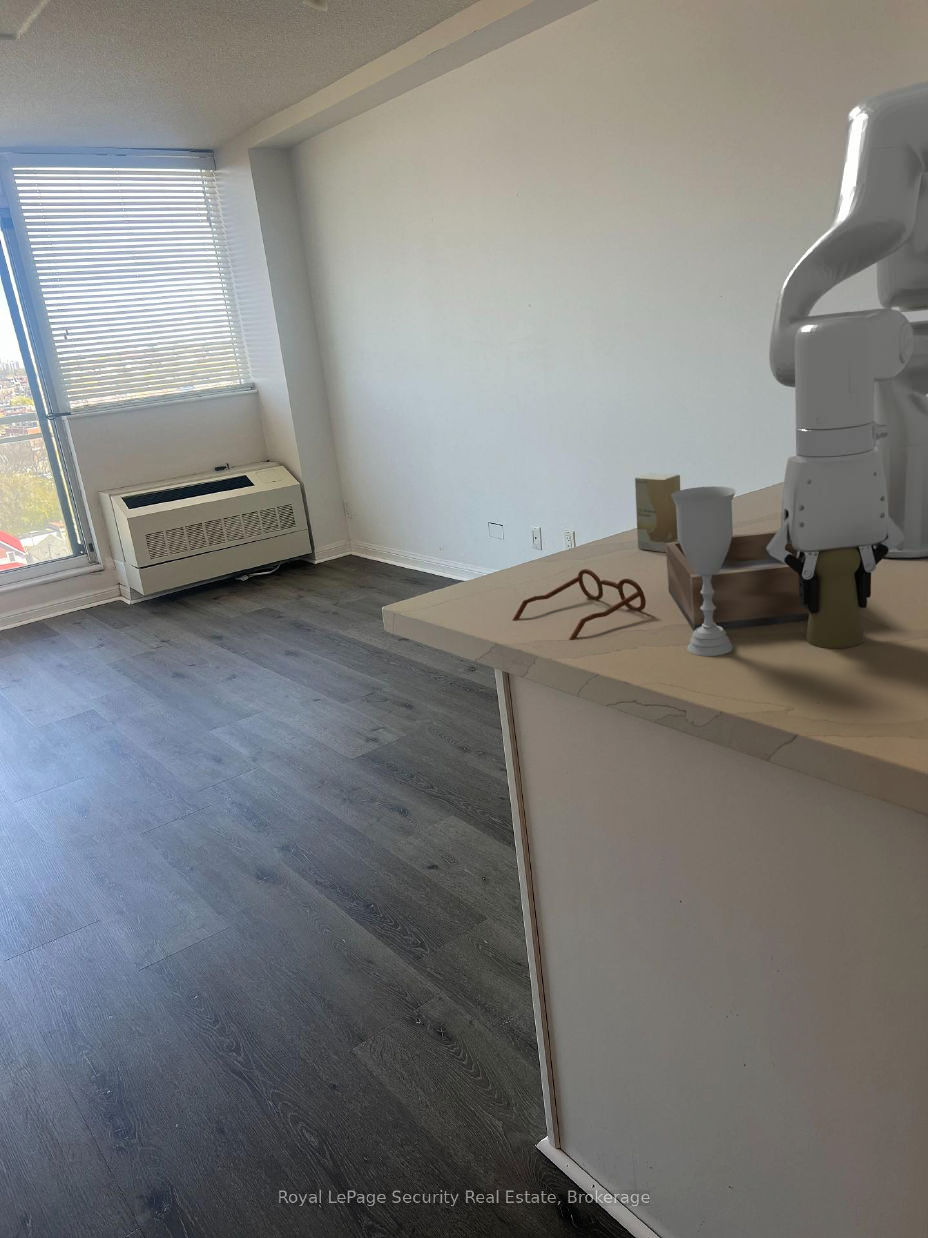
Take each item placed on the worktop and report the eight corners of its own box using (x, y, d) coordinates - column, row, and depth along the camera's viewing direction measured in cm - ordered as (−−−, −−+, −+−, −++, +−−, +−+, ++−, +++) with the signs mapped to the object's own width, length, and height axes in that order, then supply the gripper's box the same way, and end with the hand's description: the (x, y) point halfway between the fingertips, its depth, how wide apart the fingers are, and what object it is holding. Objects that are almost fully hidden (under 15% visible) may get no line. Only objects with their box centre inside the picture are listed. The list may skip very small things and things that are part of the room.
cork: (869, 646, 95) (870, 548, 92) (810, 649, 96) (809, 552, 93) (857, 627, 101) (858, 534, 97) (801, 630, 102) (800, 538, 99)
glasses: (648, 616, 116) (646, 579, 114) (571, 643, 109) (568, 605, 108) (584, 598, 126) (581, 565, 125) (511, 622, 120) (507, 587, 119)
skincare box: (637, 549, 148) (632, 477, 144) (653, 543, 150) (648, 472, 147) (668, 553, 143) (664, 478, 139) (684, 546, 146) (680, 473, 142)
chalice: (671, 642, 104) (662, 492, 99) (727, 633, 104) (721, 483, 99) (691, 663, 97) (683, 502, 92) (751, 654, 97) (746, 493, 92)
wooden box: (799, 577, 122) (799, 528, 120) (847, 617, 105) (847, 560, 103) (668, 591, 123) (665, 542, 121) (694, 632, 106) (691, 577, 104)
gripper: (902, 427, 95) (898, 589, 100) (743, 447, 96) (748, 605, 102) (934, 435, 88) (928, 609, 93) (762, 457, 89) (766, 626, 95)
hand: (834, 605), depth 97 cm, fingers closed on cork, 4 cm apart
